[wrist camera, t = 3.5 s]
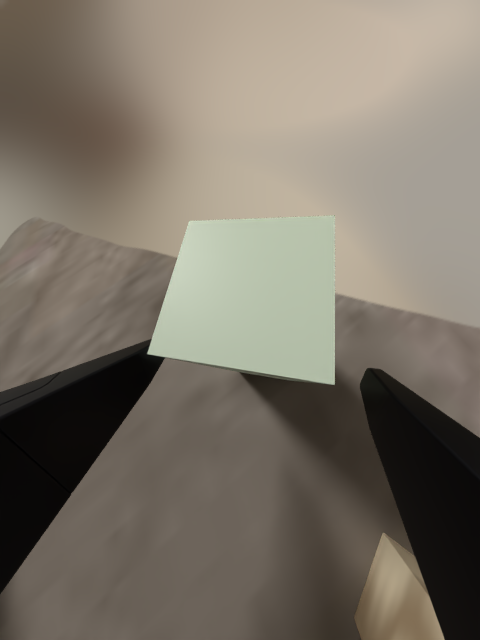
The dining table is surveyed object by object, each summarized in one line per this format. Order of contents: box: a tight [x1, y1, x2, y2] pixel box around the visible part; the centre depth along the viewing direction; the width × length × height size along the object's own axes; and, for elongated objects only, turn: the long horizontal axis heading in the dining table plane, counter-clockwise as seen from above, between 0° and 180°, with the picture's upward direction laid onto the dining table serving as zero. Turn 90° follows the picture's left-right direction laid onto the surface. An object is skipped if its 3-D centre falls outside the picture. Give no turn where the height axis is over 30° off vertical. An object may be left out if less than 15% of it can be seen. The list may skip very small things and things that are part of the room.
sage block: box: [147, 216, 335, 385], centre depth 11 cm, size 5×5×13 cm
